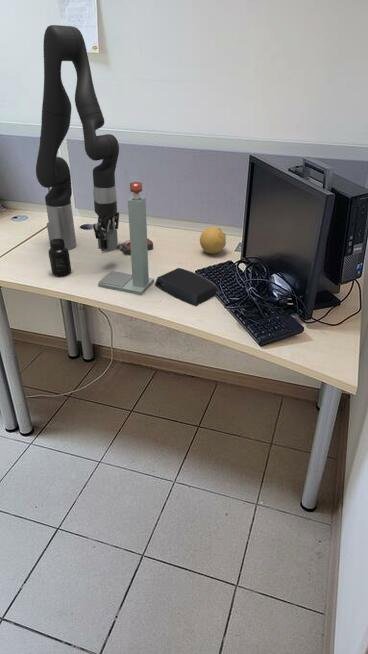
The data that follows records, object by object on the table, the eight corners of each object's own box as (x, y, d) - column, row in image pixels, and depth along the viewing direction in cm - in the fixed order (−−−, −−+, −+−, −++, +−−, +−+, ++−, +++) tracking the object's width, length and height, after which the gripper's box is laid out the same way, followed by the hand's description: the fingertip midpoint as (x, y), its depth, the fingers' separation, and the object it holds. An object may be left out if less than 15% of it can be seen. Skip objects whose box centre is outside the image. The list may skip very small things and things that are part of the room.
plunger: (129, 209, 143) (127, 184, 139) (134, 205, 146) (133, 181, 142) (139, 211, 142) (138, 186, 138) (145, 207, 145) (144, 182, 141)
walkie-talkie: (146, 241, 191) (100, 252, 183) (145, 231, 189) (99, 241, 180) (156, 249, 185) (109, 261, 176) (156, 238, 183) (108, 250, 174)
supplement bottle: (75, 270, 169) (71, 238, 163) (65, 278, 164) (60, 246, 157) (58, 267, 171) (53, 235, 164) (48, 275, 166) (42, 243, 159)
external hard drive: (180, 274, 168) (180, 264, 166) (221, 294, 156) (222, 283, 154) (152, 287, 160) (152, 276, 158) (193, 308, 149) (194, 297, 146)
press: (98, 286, 159) (88, 198, 142) (112, 273, 167) (105, 188, 150) (141, 295, 154) (136, 205, 138) (153, 281, 162) (151, 194, 145)
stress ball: (198, 257, 181) (211, 248, 172) (192, 233, 182) (206, 223, 173) (219, 256, 186) (233, 247, 177) (214, 232, 187) (228, 222, 178)
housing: (98, 248, 166) (97, 231, 163) (105, 243, 170) (104, 225, 167) (110, 251, 165) (109, 233, 161) (117, 245, 169) (117, 228, 165)
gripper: (106, 190, 164) (108, 236, 174) (83, 203, 153) (88, 251, 163) (125, 194, 162) (127, 240, 172) (104, 207, 151) (107, 255, 161)
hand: (108, 245), depth 167 cm, fingers closed on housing, 5 cm apart
